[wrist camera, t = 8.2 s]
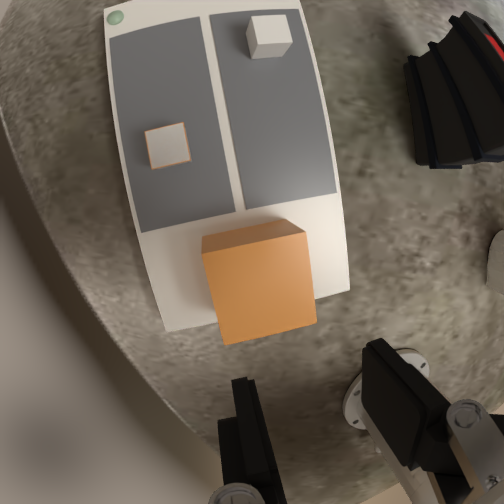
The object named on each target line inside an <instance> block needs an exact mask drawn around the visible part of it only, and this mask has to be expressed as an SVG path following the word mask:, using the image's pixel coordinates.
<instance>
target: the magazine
mask: <svg viewBox="0 0 504 504" xmlns="http://www.w3.org/2000/svg"><path fill="white" fill-rule="evenodd" d="M448 21H449V22H450V23H451V25H452V26H453V27H452V28H451V30H450V31H449V33H448V34H447V35H446V37H445V38H444V39H443V40H441V41H440V42H439V43H435V42H432V41H430V42H429V43H428V46H429V48H430V51H428V52H427V53H425V54H424V55H422V56H420V57H417V56H413V55H410V56H408V57H407V58H408V61H409V62H408V63H406V64H404V72H405V77H406V82H407V88H408V93H409V100H410V106H411V113H412V120H413V129H414V137H415V148H416V159H417V164H418V165H420V166H425V165H429V168H430V169H462V165H466V164H476V163H480V162H497V163H499V162H502V161H504V44H503V43H502V41H501V40H500V39H499V37H498V36H497V35H496V33H495V32H494V31H493V30H492V28H491V27H490V26H489V25H488V23H487V22H486V21H484V20H483V19H481V18H479V17H477V16H475V15H473V14H471V13H469V12H467V11H464V12H463V14H462V15H461V16H460V18H458V17H456V16H453V15H452V16H451V17H450V19H449V20H448Z"/></svg>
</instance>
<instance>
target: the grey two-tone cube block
mask: <svg viewBox="0 0 504 504" xmlns="http://www.w3.org/2000/svg"><path fill="white" fill-rule="evenodd" d="M144 132H145V137H146V143H147V148H148V154H149V159H150V164H151V169H152V170H154V169H162V168H166V167H170V166H174V165H178V164H183V163H187V162H192V159H191V154H190V149H189V143H188V138H187V133H186V129H185V125H184V122H181V123H177V124H172V125H168V126H164V127H160V128H156V129H152V130H148V131H144Z"/></svg>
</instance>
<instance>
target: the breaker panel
mask: <svg viewBox="0 0 504 504" xmlns="http://www.w3.org/2000/svg"><path fill="white" fill-rule="evenodd" d="M263 15H286V18H287V22H288V26H289V29H290V33H291V37H292V41H293V43H292V44H291V46H290V47H289V48H288V50H287V51H286V52H285V54H284V55H283V56H282V57H271V58H260V59H251V55H250V51H249V46H248V42H247V37H246V31H247V28H248V25H249V22H250V19H251V16H263ZM104 27H105V44H106V57H107V69H108V79H109V88H110V96H111V104H112V111H113V118H114V125H115V131H116V137H117V143H118V149H119V154H120V160H121V165H122V170H123V175H124V180H125V185H126V190H127V194H128V199H129V203H130V208H131V212H132V216H133V220H134V224H135V229H136V232H137V236H138V240H139V244H140V248H141V252H142V255H143V259H144V262H145V266H146V269H147V273H148V276H149V280H150V283H151V286H152V290H153V293H154V296H155V299H156V303H157V306H158V309H159V312H160V315H161V318H162V321H163V324H164V327H165V330H166V332H172V331H177V330H182V329H187V328H193V327H198V326H202V325H207V324H212V323H217V322H218V320H217V316H216V312H215V308H214V304H213V300H212V296H211V292H210V288H209V284H208V280H207V276H206V272H205V268H204V264H203V259H202V255H201V249H202V236H206V235H211V234H216V233H220V232H225V231H230V230H234V229H239V228H244V227H249V226H254V225H258V224H263V223H268V222H273V221H278V220H283V219H286V220H288V221H290V222H291V223H293V224H295V225H296V226H298V227H299V228H301V229H303V230H304V231H306V234H307V242H308V249H309V257H310V265H311V273H312V281H313V290H314V299H318V298H322V297H326V296H329V295H333V294H337V293H340V292H344V291H348V290H350V283H349V269H348V257H347V245H346V235H345V225H344V216H343V208H342V200H341V192H340V185H339V178H338V171H337V164H336V158H335V152H334V146H333V140H332V134H331V129H330V123H329V118H328V113H327V108H326V103H325V98H324V93H323V89H322V84H321V80H320V75H319V71H318V67H317V63H316V58H315V54H314V50H313V47H312V43H311V39H310V35H309V31H308V28H307V24H306V21H305V17H304V14H303V10H302V7H301V4H300V1H299V0H132V1H128V2H125V3H122V4H118V5H115V6H112V7H109V8H106V9H104ZM181 122H184V125H185V129H186V133H187V138H188V143H189V149H190V154H191V159H192V162H187V163H183V164H178V165H174V166H170V167H166V168H162V169H154V170H152V169H151V164H150V159H149V154H148V148H147V143H146V137H145V132H144V131H148V130H152V129H156V128H160V127H164V126H168V125H172V124H177V123H181Z"/></svg>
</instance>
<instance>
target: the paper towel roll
mask: <svg viewBox="0 0 504 504" xmlns="http://www.w3.org/2000/svg"><path fill="white" fill-rule="evenodd" d="M487 269H488V283H487V287H489V288H491V289H493V290H495V291H497V292H499V293H501V294H503V295H504V230H501V231H499V232H498V233H497V234H496V235H495V237H494V238H493V240H492V243H491V246H490V249H489V256H488V264H487Z"/></svg>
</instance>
